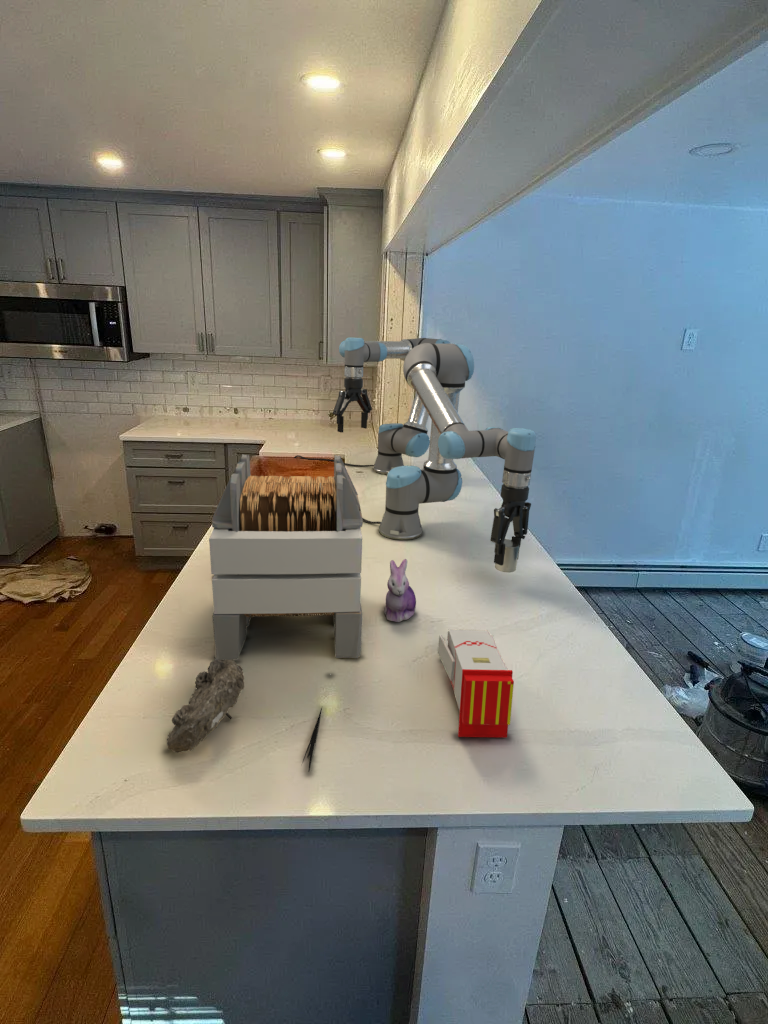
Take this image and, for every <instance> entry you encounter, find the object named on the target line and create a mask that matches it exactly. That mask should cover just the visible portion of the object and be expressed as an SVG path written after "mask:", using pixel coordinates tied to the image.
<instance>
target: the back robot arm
mask: <svg viewBox="0 0 768 1024" xmlns="http://www.w3.org/2000/svg"><path fill="white" fill-rule="evenodd" d="M424 343H430V344H452V343H451V341H449V340H447V339H442V338H430V337H429V338H428V337H427V338H426V337H416V338H403V339H401V340H399V341H397V340H395V341H394V340H365V339H364V338H363V337H346V339H345V340H342V341H341V342H340V344H339V346H338V352H339V355H340V356H341V357H342V358H344V370H343V371H344V373H343V374H344V375H343V377H344V378H343V386H344V390H339V391H338V397H337V399H336V402H335V405H334V408H333V411H332V415H334V416H336V425H337V432H338V433H343V434H344V424H345V423H344V418H345V417H344V413H345V412H346V410H347V408H348V406H349V405H350V404H351V403H352V402H357V404H358V405H359V408H360V409H361V410H362V412H361V415H360V416H361V417H360V428H361V429H368V419H369V414H371V411H373V407H372V404H371V401H370V398H369V395H368V388H364V378H363V377H364V363H379V362H383V361H385V360H386V359H388V360H389V359H391V360H392V359H393V360H398V359H399V360H401V361H402V362H404V361H405V358H406V356H407V354H408V353H409V352H410V351H411V350H412V349H413V348H414V347H415V346H417V345H420V344H424ZM429 418H430V416H429V414H428V412H427V411H426V409H425V407H424V405H423V403H422V402H421V400H420V398H419V396H418V394H417V393H416V392H415V395H414V398H413V402H412V406H411V409H410V413H409V416H408V420H407V421H406V422H404V423H398V422H393V423H383V424H381V425H379V427H378V434H377V455H376V459H375V461H374V464H353V463H347V462H343V463H344V465H345V466H348V467H349V466H350V467H358V468H359V467H361V468H366V467H367V468H368V467H369V468H371V467H373V472H374V473H377V474H381V475H385V476H387V474H388V472H389V471H390V470H391V469H393V468H396V467H399V466H405V464H404V461H403V455H406V456H407V457H411V458H412V457H413V458H420V457H422V456H423V455H425V454H426V453H427V451H429V446H430V435H428V431H429V430H428V428H427V423H428V420H429ZM296 458H300V459H303V460H308V461H326V462H327V461H328V462H334V459H330V458H320V457H318V458H317V457H305V456H302V455H299V454H298V455H295V456H294V457H293V459H296Z"/></svg>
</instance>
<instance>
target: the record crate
mask: <svg viewBox="0 0 768 1024" xmlns="http://www.w3.org/2000/svg"><path fill="white" fill-rule="evenodd" d="M333 460H334V461H333V469H334V470H333V476H327V477H325V476H321V475H319V476H314V477H313V476H311V475H309V476H307V475H290V476H283V475H279V476H278V475H265V476H264V475H259V476H258V475H251V459H250V454H243V453H242V454H241V456H240V459H239V461H238V462H237V464H236V466H235V469H234V471H233V473H232V474H231V475H230V478H229V479H228V482H227V484H226V486H225V489H224V491H223V493H222V496H221V498H220V500H219V502H218V504H217V507H216V508H215V511H214V513H213V516H212V518H211V527H212V528H213V529H212V531H211V534H210V535H209V538H208V543H209V559H210V574H211V575H213V576H212V579H211V587H212V588H211V589H212V600H213V601H212V603H213V612H212V629H213V630H212V631H213V640H214V649H215V657H214V660H217V661H224V660H227V659H228V660H231V659H232V660H234V661H238V660H239V658H240V654H241V653H242V649H243V647H244V645H245V642H246V640H247V636H248V632H247V630H248V629H247V627H249V626H250V624H251V623H250V622H251V618H253V617H254V618H255V617H258V618H259V617H264V618H265V617H267V618H268V617H292V616H293V617H308V616H310V617H311V616H333V618H332V619H333V626H334V627H333V636H334V638H333V639H334V640H333V641H334V658H337V659H342V658H344V659H345V658H347V659H349V658H352V659H358V658H359V657H361V656H362V633H363V632H362V631H363V630H362V629H363V611H362V603H361V590H362V576H361V574H362V563H363V562H362V561H363V534H362V529H361V528H362V527H363V525H364V524H363V523H364V521H363V519H362V518H363V515H362V509H361V505H360V499H359V494H358V492H357V489H356V487H355V485H354V483H353V481H352V478H351V477H350V474H349V472H348V470H347V468H346V465H344V463H345V462H344V461H343V459H342V456H341V455H336V454H334V458H333Z"/></svg>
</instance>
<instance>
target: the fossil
mask: <svg viewBox="0 0 768 1024" xmlns="http://www.w3.org/2000/svg"><path fill="white" fill-rule="evenodd" d="M243 670H244V669H243V667H242V665H240V664H237V662H236V660H232V659H231V660H228V659H227V660H221V661H217V660H215V659H212V660H211V661H210V663H209V665H208V666H207V671H201V672H199V673H198V674H197V675H196V676H195V680H194V684H195V685H194V687H195V689H194V690H193V693H192V694H191V697H190V698H189V700H188V704H184V705H182V706H181V707H180V709H177V710H176V711H175V713H174V715H173V716H172V718H171V723H172V724H173V727H172V730H171V731H170V732H168V734H167V738H166V741H167V742H166V745H167V749H168V750H169V751H173V752H174V753H176V754H178V753H182V752H188V751H189V752H192V751H193V750H195V748H196V747H197V746H199V744H200V743H201V742H203V741H204V740H205V739H206V738H207V737H208V736H209V735H210V734H211V733H212V732H214V730H215V729H217V727H218V726H219V724H220V722H221V721H222V720H223V719H224V718H225V716H226V717H227V719H229V720H233V717H232V715H230V714H229V710H230V709H231V708H234V706H235V704H236V703H237V702H238V699H239V697H240V695H241V693H242V691H243V690H245V689H244V688H245V675H244V671H243Z"/></svg>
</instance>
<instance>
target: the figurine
mask: <svg viewBox="0 0 768 1024" xmlns="http://www.w3.org/2000/svg"><path fill="white" fill-rule="evenodd" d="M407 567H408V559H406V558H404V559H403V560H402V561H401V563H400V565H399V566H398V565H397V563H396V562H395V561H394V560H393V559H391V560H390V561H389V570H390V576H389V578H388V579H387V589H388V591H387V592H386V594H385V595H386V596H385V607H384V615H385V616H386V620H387V621H391V622H395V623H400V622H402V621H406V620H409V619H410V618H411V617H413V616H414V615H415V610H416V606H417V597H416V593H415V591H414V590H413V587H411V586H410V582H409V579H408V577H407V574H406V571H407Z"/></svg>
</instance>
